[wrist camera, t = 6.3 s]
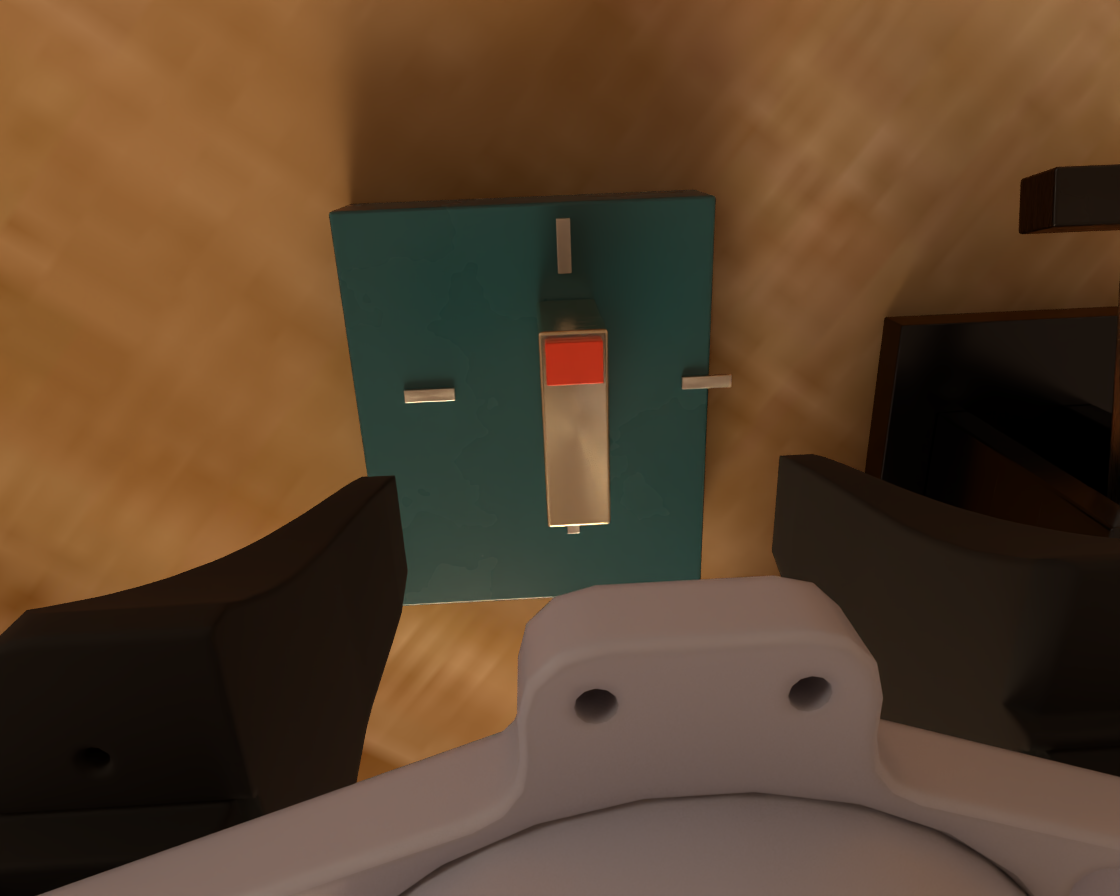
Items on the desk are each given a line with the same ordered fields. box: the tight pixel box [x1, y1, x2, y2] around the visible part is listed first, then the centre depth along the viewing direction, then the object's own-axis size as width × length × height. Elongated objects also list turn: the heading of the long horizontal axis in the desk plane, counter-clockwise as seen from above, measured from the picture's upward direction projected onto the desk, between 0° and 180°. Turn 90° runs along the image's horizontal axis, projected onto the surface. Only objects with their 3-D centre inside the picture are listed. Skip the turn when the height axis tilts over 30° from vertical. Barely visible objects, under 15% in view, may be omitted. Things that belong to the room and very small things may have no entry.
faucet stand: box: [865, 306, 1120, 539], centre depth 21 cm, size 10×8×9 cm
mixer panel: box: [329, 190, 732, 606], centre depth 23 cm, size 12×11×3 cm
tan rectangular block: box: [536, 299, 611, 527], centre depth 19 cm, size 5×2×4 cm, turn 2°
